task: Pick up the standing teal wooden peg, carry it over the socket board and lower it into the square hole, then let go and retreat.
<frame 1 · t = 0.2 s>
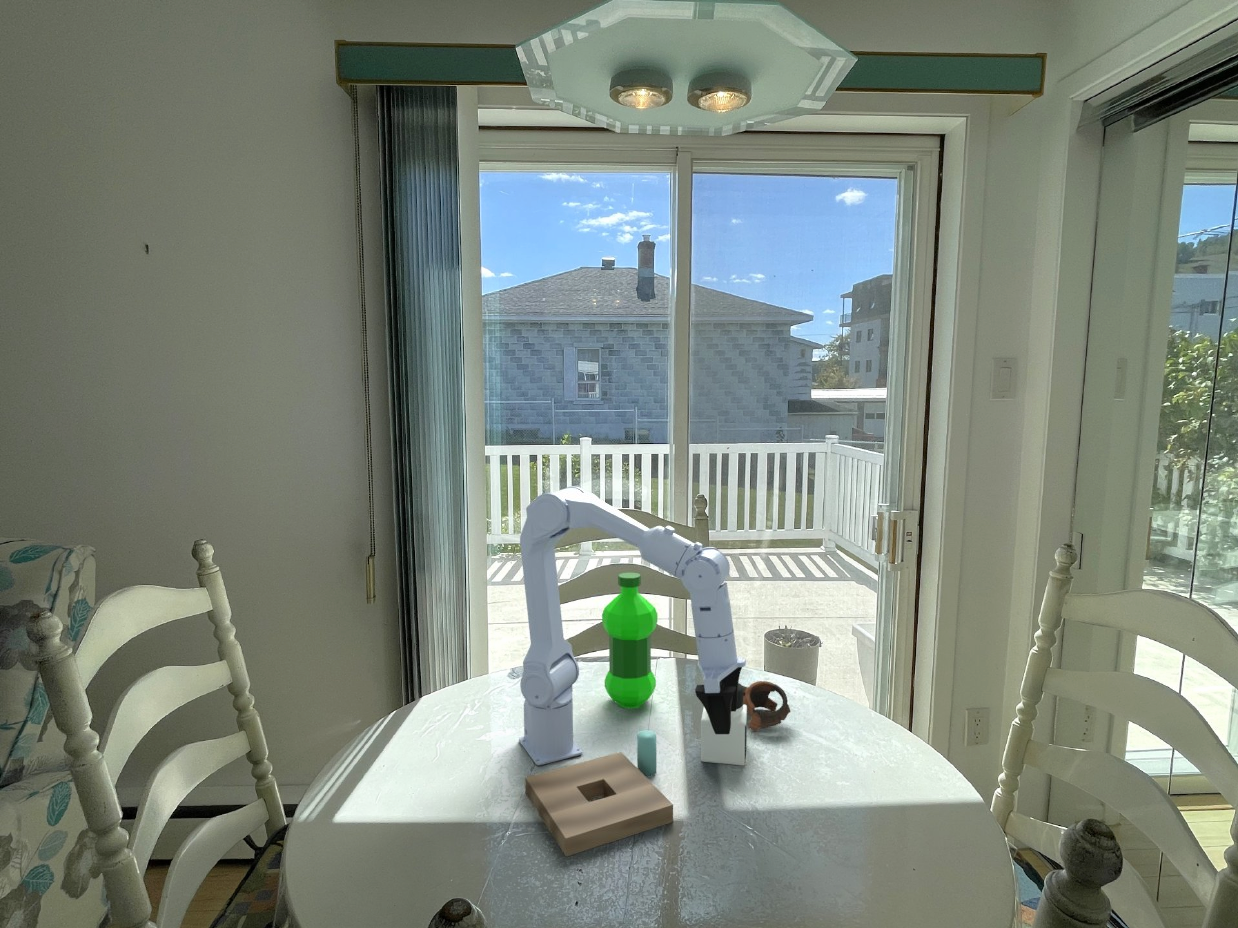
hand: (726, 721, 103), 11 cm above the table, tool pointing down, fingers open, 7 cm apart
plastic bottle: (630, 703, 133), on the table
peg: (646, 771, 109), on the table
brown jagged ring: (756, 721, 126), on the table
medicine bottle: (724, 754, 114), on the table
socket board: (596, 806, 99), on the table
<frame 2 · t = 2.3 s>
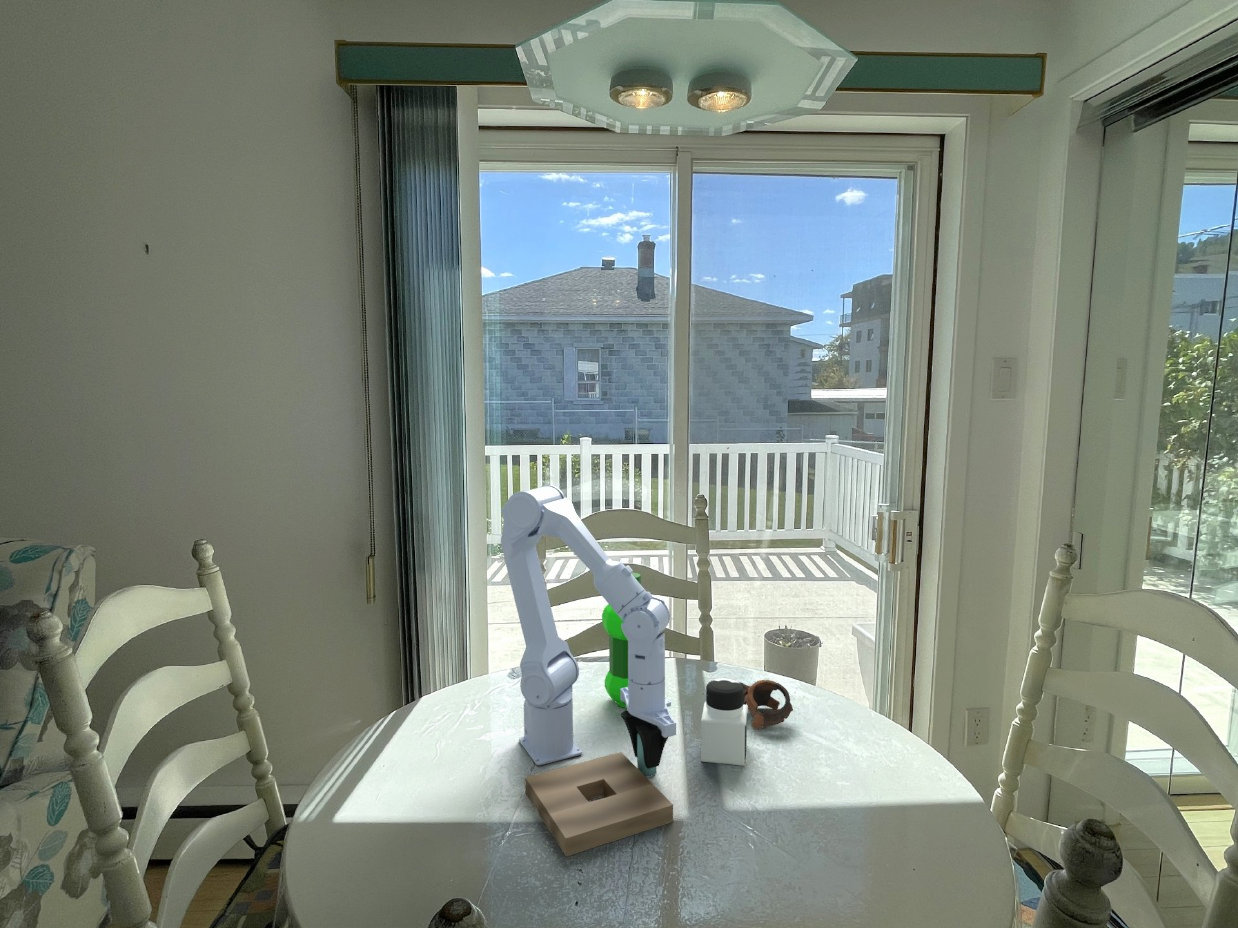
hand: (646, 760, 109), 2 cm above the table, tool pointing down, fingers closed on peg, 3 cm apart
peg: (647, 771, 109), on the table, touching gripper
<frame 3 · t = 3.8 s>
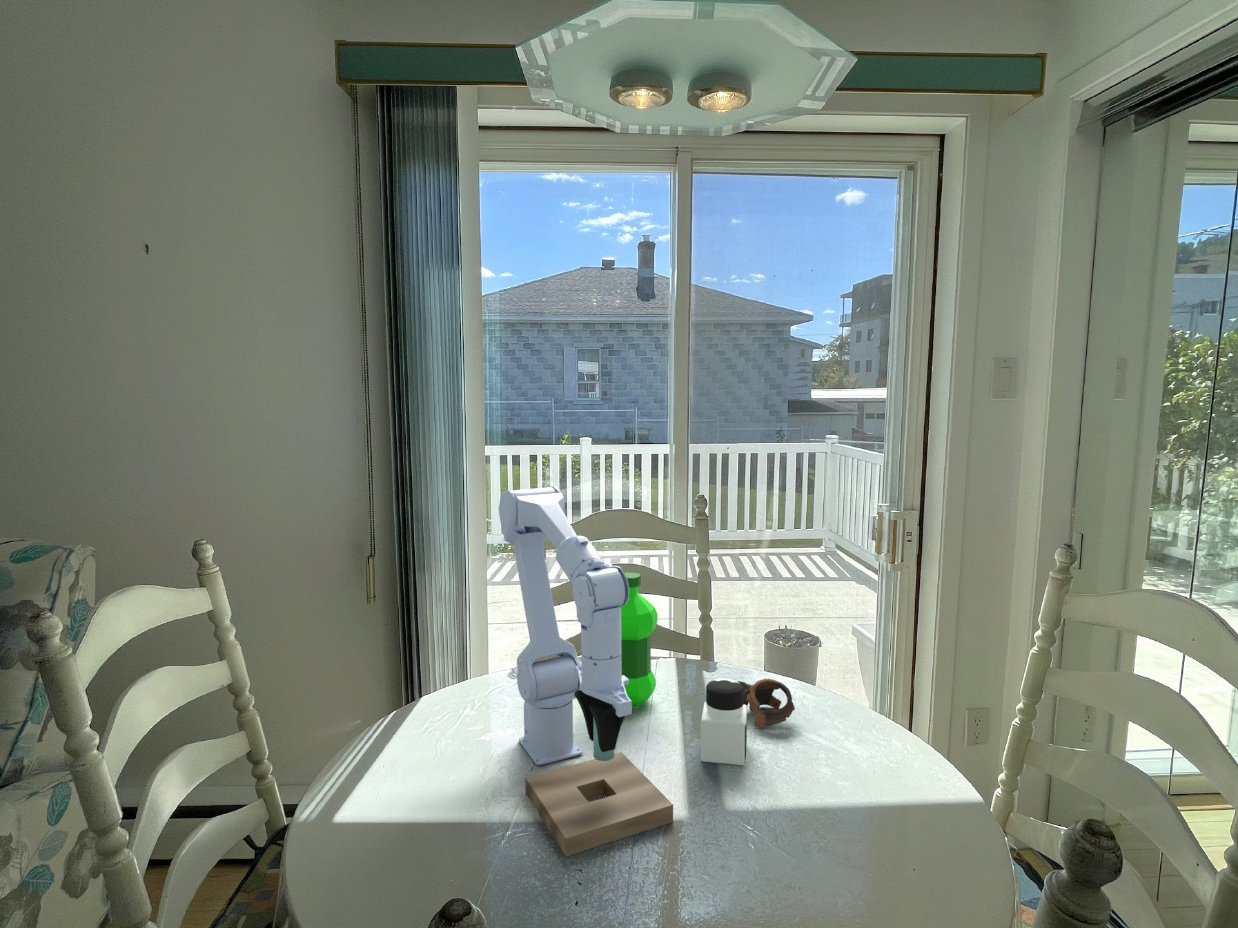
hand: (602, 743, 100), 9 cm above the table, tool pointing down, fingers closed on peg, 3 cm apart
peg: (604, 755, 100), point 7 cm above the table, touching gripper
when the fingers open (3 cm above the table, at t = 5.6 s): peg drops 1 cm, resting in socket board.
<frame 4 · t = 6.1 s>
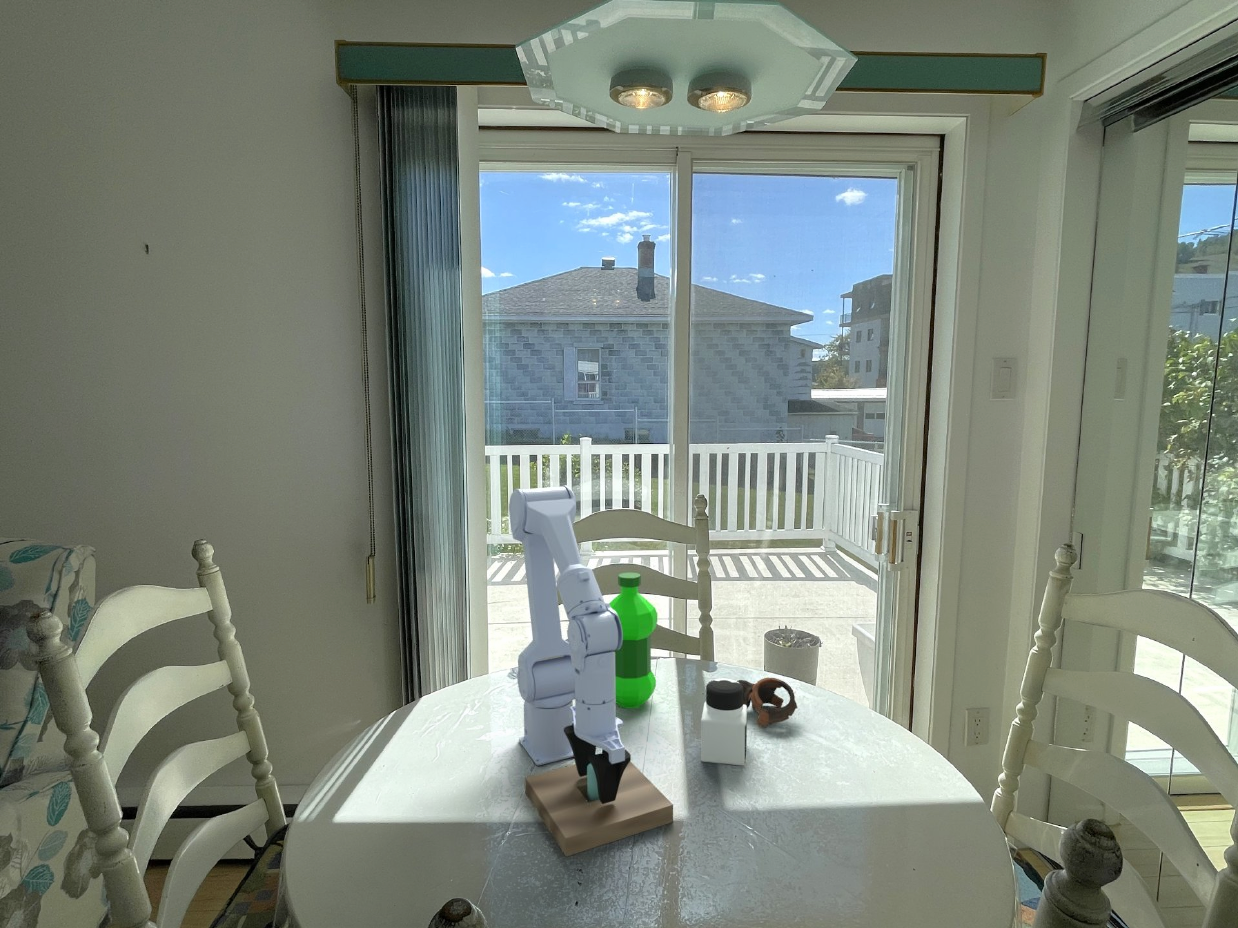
hand: (596, 786, 99), 3 cm above the table, tool pointing down, fingers open, 7 cm apart
peg: (598, 806, 99), resting in socket board
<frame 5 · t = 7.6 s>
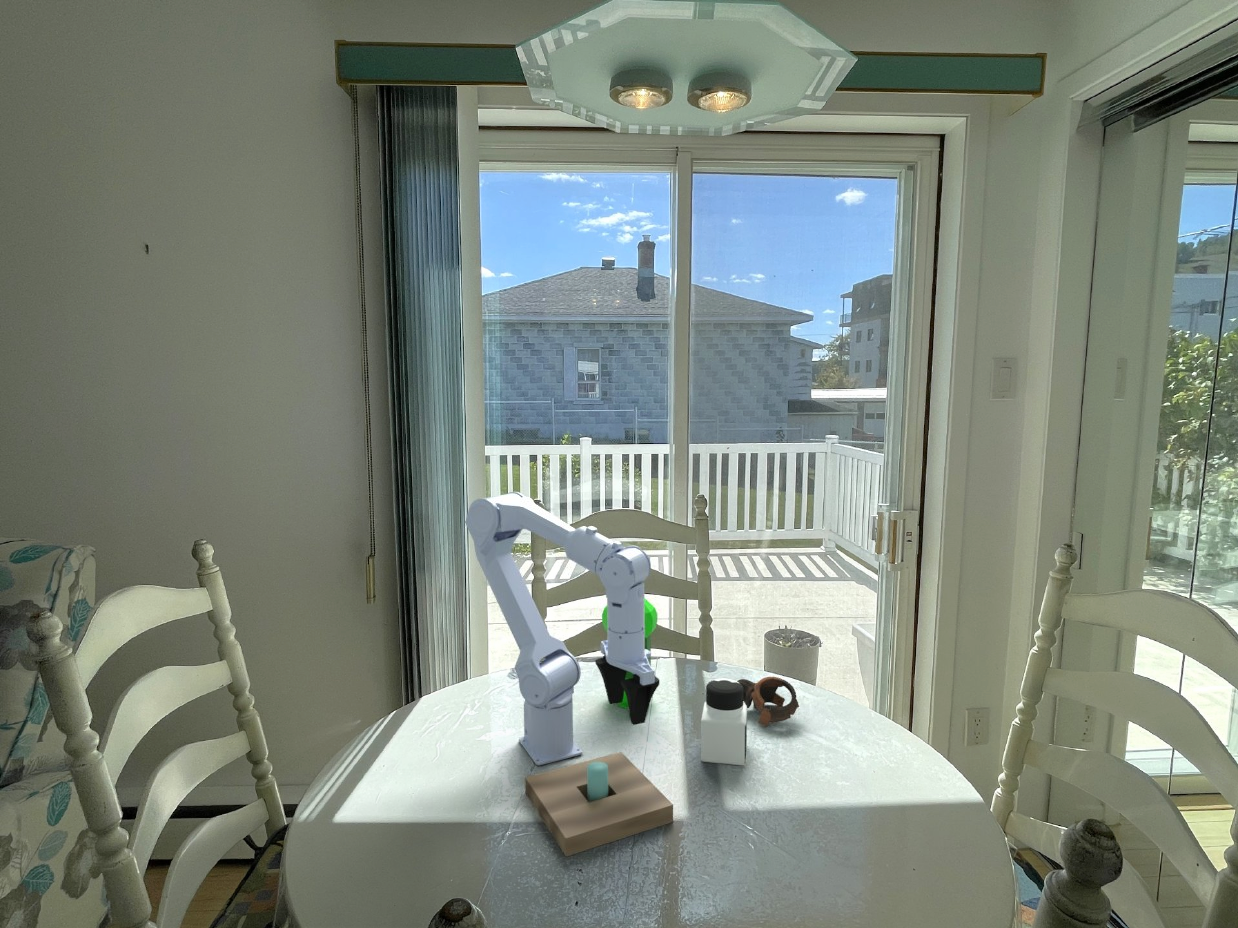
hand: (626, 712, 107), 10 cm above the table, tool pointing down, fingers open, 7 cm apart
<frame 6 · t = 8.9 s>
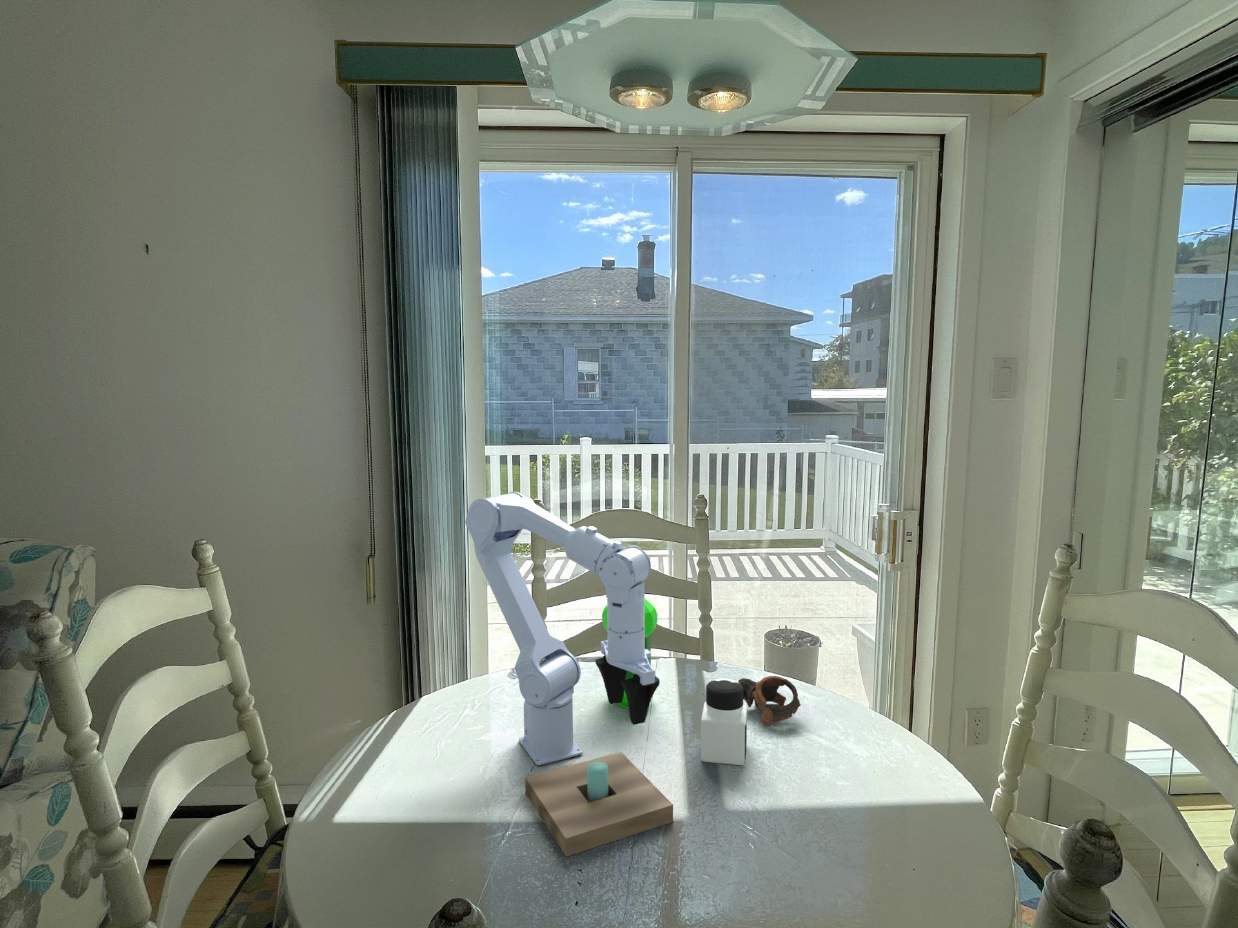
hand: (626, 712, 107), 10 cm above the table, tool pointing down, fingers open, 7 cm apart
at the end: peg 0.2 cm off-centre on the socket board, point 0.0 cm above the socket board's base; peg tilted 0°; the gripper is holding nothing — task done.
